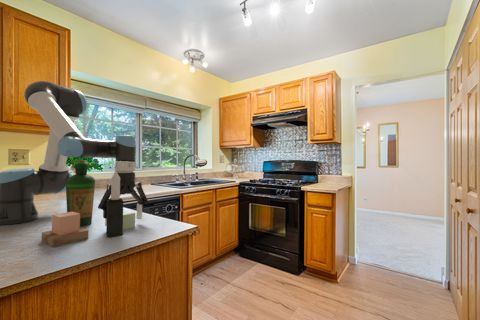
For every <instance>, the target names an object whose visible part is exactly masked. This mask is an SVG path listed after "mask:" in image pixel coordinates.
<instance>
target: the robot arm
mask: <svg viewBox="0 0 480 320" xmlns="http://www.w3.org/2000/svg"><path fill="white" fill-rule="evenodd" d="M23 95H24V99H25V102H26V104H27V105H28V106H29V107H30V108H31V109H33V110H34V111H36V112H37V113H38V114H39V115H40V117H41V118H42V119H43V122H44V123H46V124H47V126H48V128H49V133H48V137H47V138H48V139H47V145H46V149H45V155H44V160H43V163H42V164H39V166H38V170H35V168H32V167H25V168H24V167H23V168H15V169H14V168H13V169H7V170H3V171H0V226H7V225H14V224H15V225H18V224H22V223H28V222H31V221H32V222H33V221H35V220H37V219H38V218H39V213H38V212H39V211H38V210H37V207H36V205H35V202H34V198H35V197H34V196H40V195H49V194H58V193H65V192H66V181H67V180H68V178H70V177H71V176H73V174H72V172H71V171H69V170H70V169H69V167H68V166H67V160H68V157H70V158H96V159H97V158H98V159H115V160H114V161H115V166H114V170H115V169H117V172H118V175H119V177H120V196H122V195H129V194H130V195H131V197H133V198H134V200H135V201H136V202H137V204H136V220H142V219H143V212H144V205H145V204H146V203H147V202H148V201H149V200H148V199H147V198H148V197H147V196H146V193H145V192H144V189H143V185H142V182H139V181H137V182H135V180H136V172H135V171H136V150H137V149H136V148H137V144H136V137H135V136H133V135H129V134H128V135H125V134H119V135H116V136H115V140H106V139H105V140H104V139H94V138H93V139H92V138H87V137H85V136H84V135H83V134H82V132H81V131H80V130H79V129H78V128H77V126H76V125H75V120H78V119H79V118H80V115H83V114H84V113H85V112H86V111H87V108H88V102H87V98H86V96H85V94H84V93H82V92H81V91H80V90H77V89H74V88H70V87H67V86H64V85H60V84H56V83H53V82H50V81H46V80H45V81H44V80H40V81H39V80H38V81H35V82H32V83H30V84H29V85H27V86H26V88H25V90H24V94H23ZM135 189H136V190H137V191H136V190H135ZM108 199H111V184H110V183H108V184H106V190H105V192H104V194H103V196H102V198H101V200H100V202H99V204H98V206H97V209H99V210H102V214H103V215H102V216H103V217H102V218H103V219H104V220H105V222H104V226H105V227H107V201H108Z"/></svg>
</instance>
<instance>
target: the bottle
mask: <svg viewBox="0 0 480 320" xmlns="http://www.w3.org/2000/svg"><path fill="white" fill-rule="evenodd" d="M73 169H74V170H75V174H72V176H71V177H70V178H68V180H67V181H66V191H65V195H66V197H65V198H66V212H76V213H79V214H80V227H84V226H87V225H90V224H92V220H93V210H94V199H95V198H94V197H95V188H96V187H95V186H96V179H95V178H94V177H93V176H92V175H90V174H88V169H90V166H89V162H87V160H86V159H77V160H76V162H75V163H74V166H73Z"/></svg>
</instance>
